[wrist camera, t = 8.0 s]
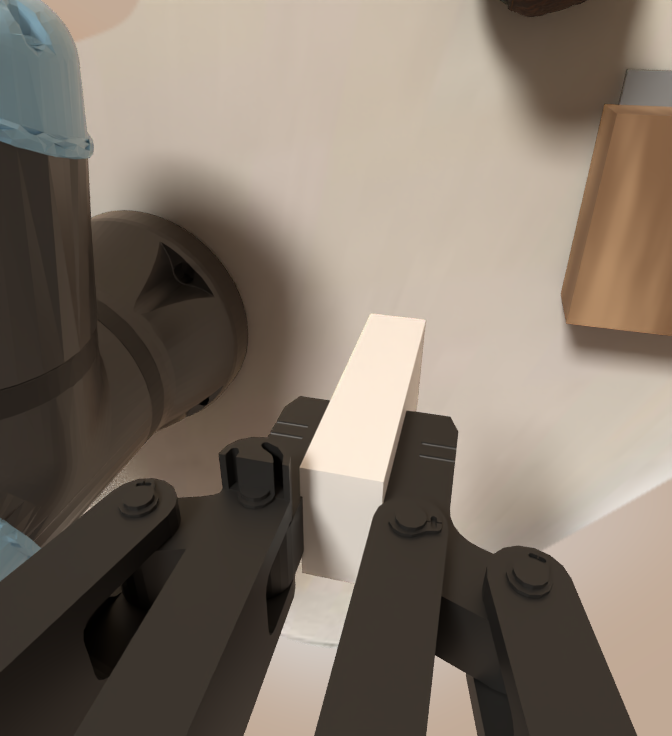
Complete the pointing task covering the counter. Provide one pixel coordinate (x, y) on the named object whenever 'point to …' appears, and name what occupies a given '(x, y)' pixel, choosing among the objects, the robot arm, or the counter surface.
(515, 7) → the mate gourd
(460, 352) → the counter surface
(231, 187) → the counter surface
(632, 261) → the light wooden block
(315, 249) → the counter surface
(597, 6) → the counter surface
